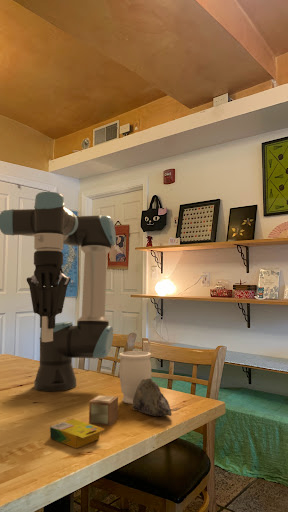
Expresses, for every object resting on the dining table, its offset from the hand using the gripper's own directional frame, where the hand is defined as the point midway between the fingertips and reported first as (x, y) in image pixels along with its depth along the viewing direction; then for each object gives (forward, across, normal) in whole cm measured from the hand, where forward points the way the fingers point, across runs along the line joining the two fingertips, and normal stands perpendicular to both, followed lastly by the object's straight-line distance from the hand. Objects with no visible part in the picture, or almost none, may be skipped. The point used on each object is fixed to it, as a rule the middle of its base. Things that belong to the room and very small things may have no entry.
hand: (47, 341), depth 102 cm
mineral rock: (+23, +19, +22) cm, 37 cm away
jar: (+23, +9, +33) cm, 41 cm away
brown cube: (+23, +10, +12) cm, 27 cm away
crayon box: (+21, +5, 0) cm, 22 cm away
